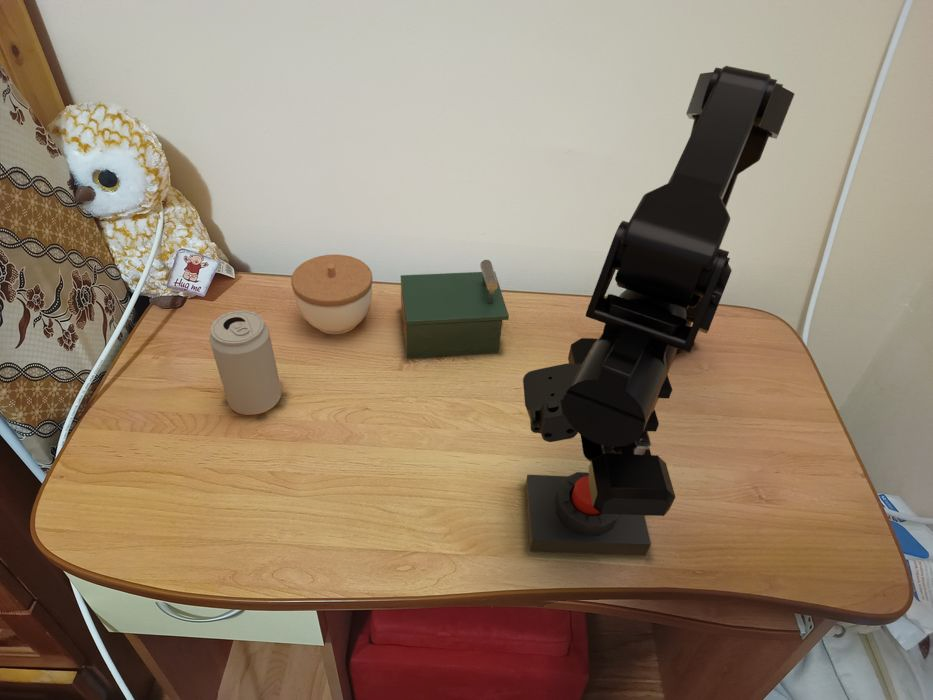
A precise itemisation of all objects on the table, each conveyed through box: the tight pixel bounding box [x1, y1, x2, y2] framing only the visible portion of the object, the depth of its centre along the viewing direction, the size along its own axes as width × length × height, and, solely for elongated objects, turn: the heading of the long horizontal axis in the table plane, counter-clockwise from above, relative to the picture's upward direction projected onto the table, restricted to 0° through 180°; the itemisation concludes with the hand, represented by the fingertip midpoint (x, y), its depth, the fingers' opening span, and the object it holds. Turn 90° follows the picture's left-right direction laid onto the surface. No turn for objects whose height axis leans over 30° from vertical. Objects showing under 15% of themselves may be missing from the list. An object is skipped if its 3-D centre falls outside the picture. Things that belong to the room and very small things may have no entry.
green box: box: [400, 285, 503, 360], centre depth 87 cm, size 13×10×6 cm
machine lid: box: [400, 259, 510, 325], centre depth 83 cm, size 13×10×4 cm
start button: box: [572, 476, 600, 515], centre depth 64 cm, size 4×4×2 cm
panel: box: [524, 471, 652, 557], centre depth 66 cm, size 12×8×4 cm, turn 89°
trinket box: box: [290, 254, 374, 335], centre depth 86 cm, size 11×11×9 cm
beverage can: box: [209, 309, 282, 416], centre depth 73 cm, size 6×6×12 cm
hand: (597, 474), depth 61 cm, fingers closed
